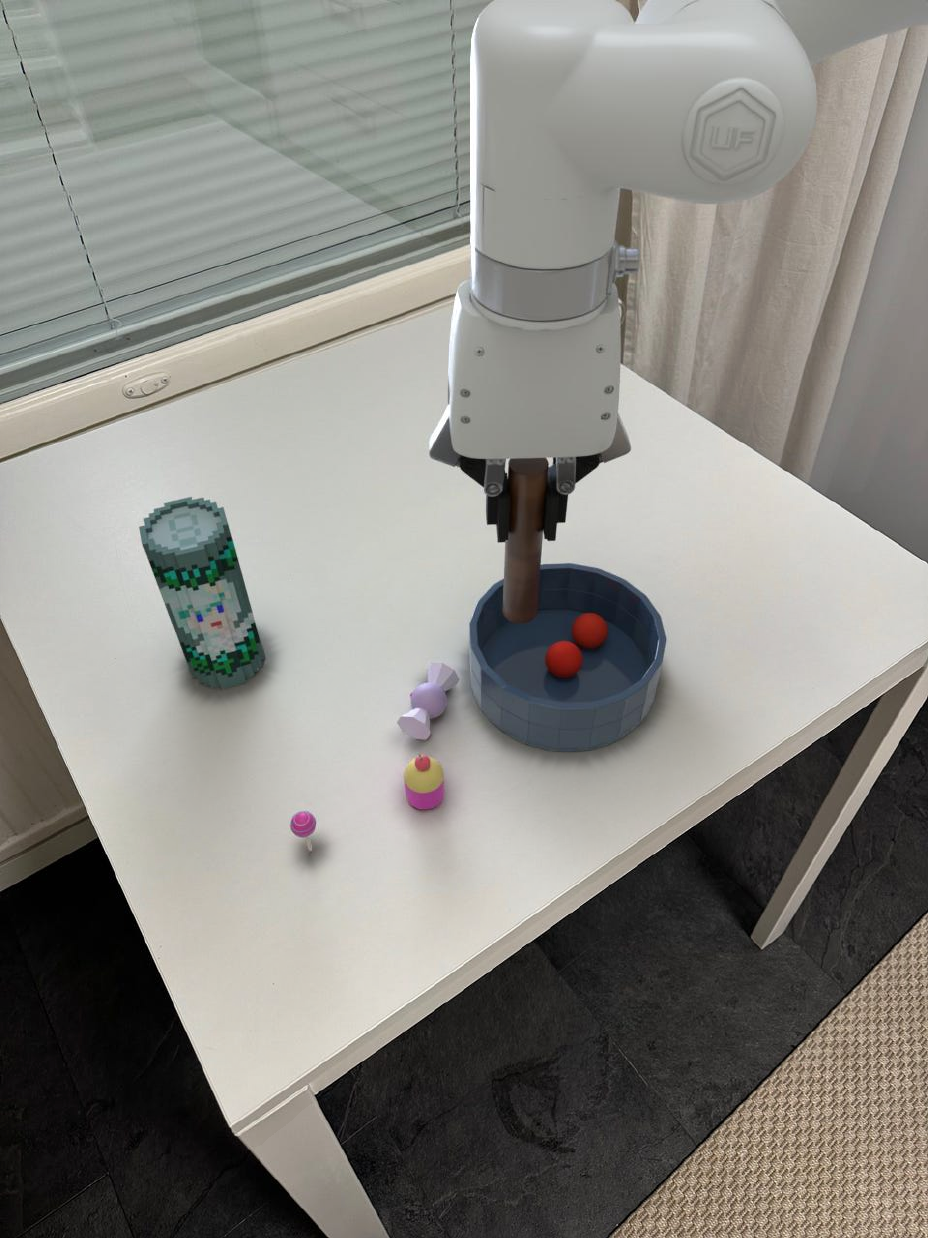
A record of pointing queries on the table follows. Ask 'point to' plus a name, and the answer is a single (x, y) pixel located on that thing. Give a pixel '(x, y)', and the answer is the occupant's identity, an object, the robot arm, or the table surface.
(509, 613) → the stick
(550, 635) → the bowl
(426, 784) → the candy
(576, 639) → the tomato
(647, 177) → the robot arm
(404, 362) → the table surface
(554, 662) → the tomato
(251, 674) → the can
